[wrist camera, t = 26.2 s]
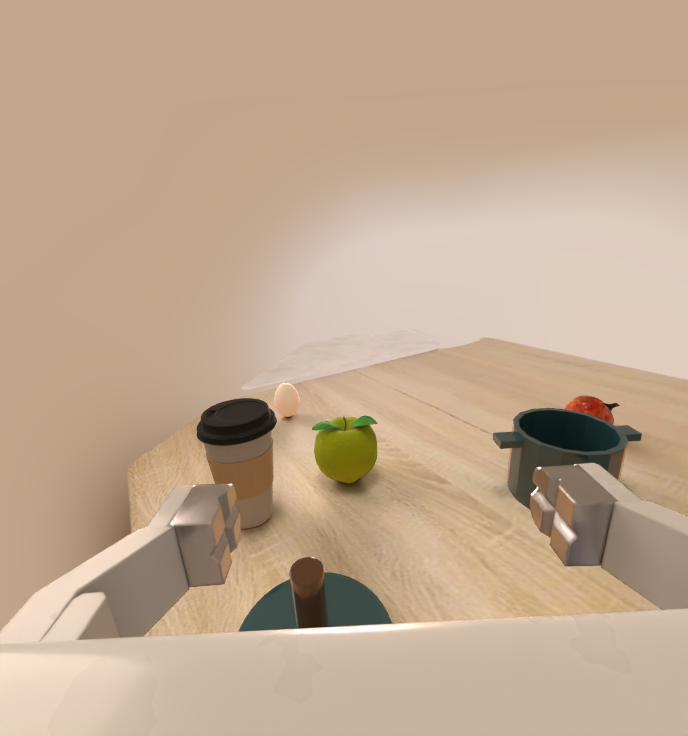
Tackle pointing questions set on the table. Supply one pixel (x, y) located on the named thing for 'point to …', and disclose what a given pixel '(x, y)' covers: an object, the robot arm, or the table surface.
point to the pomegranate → (592, 407)
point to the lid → (315, 602)
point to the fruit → (346, 448)
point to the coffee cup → (242, 454)
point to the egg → (286, 400)
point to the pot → (560, 445)
